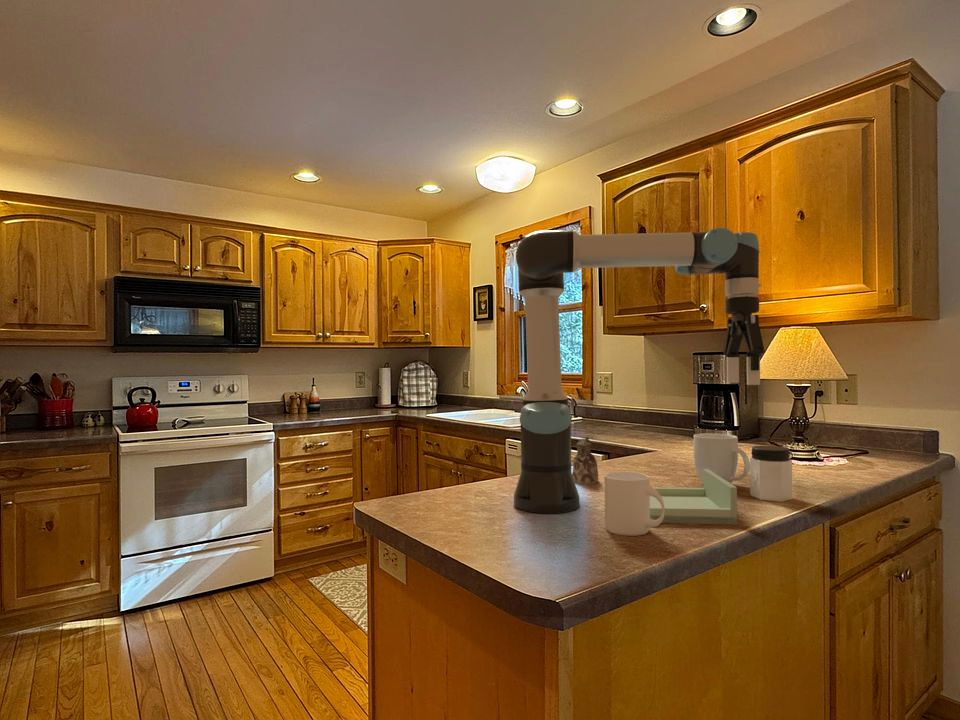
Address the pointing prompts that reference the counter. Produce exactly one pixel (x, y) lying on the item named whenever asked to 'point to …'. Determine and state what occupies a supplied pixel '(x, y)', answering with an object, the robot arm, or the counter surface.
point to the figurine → (585, 464)
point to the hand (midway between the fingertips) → (742, 383)
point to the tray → (698, 502)
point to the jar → (771, 473)
